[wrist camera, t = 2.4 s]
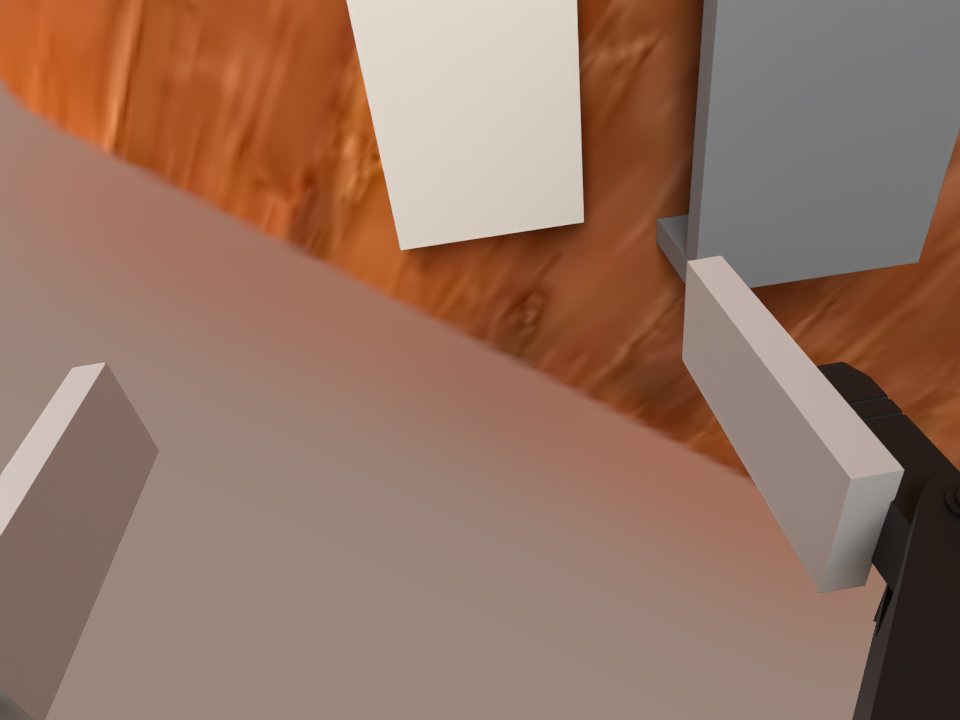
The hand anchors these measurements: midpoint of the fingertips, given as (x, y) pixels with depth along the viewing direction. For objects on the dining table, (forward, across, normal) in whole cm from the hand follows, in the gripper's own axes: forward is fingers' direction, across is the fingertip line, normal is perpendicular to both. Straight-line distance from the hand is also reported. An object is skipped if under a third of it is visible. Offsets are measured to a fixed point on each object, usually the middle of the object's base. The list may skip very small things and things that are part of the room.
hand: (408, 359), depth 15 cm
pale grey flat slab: (+23, +4, +1) cm, 23 cm away
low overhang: (+23, +20, +1) cm, 30 cm away
